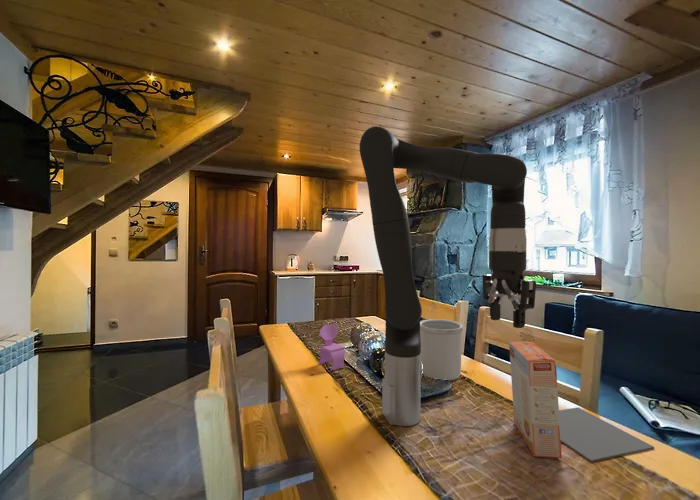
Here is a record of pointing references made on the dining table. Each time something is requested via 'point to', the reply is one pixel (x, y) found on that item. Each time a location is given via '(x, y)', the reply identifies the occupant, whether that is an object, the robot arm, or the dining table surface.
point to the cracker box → (535, 398)
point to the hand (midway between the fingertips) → (506, 323)
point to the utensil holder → (441, 348)
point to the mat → (596, 436)
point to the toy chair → (331, 348)
